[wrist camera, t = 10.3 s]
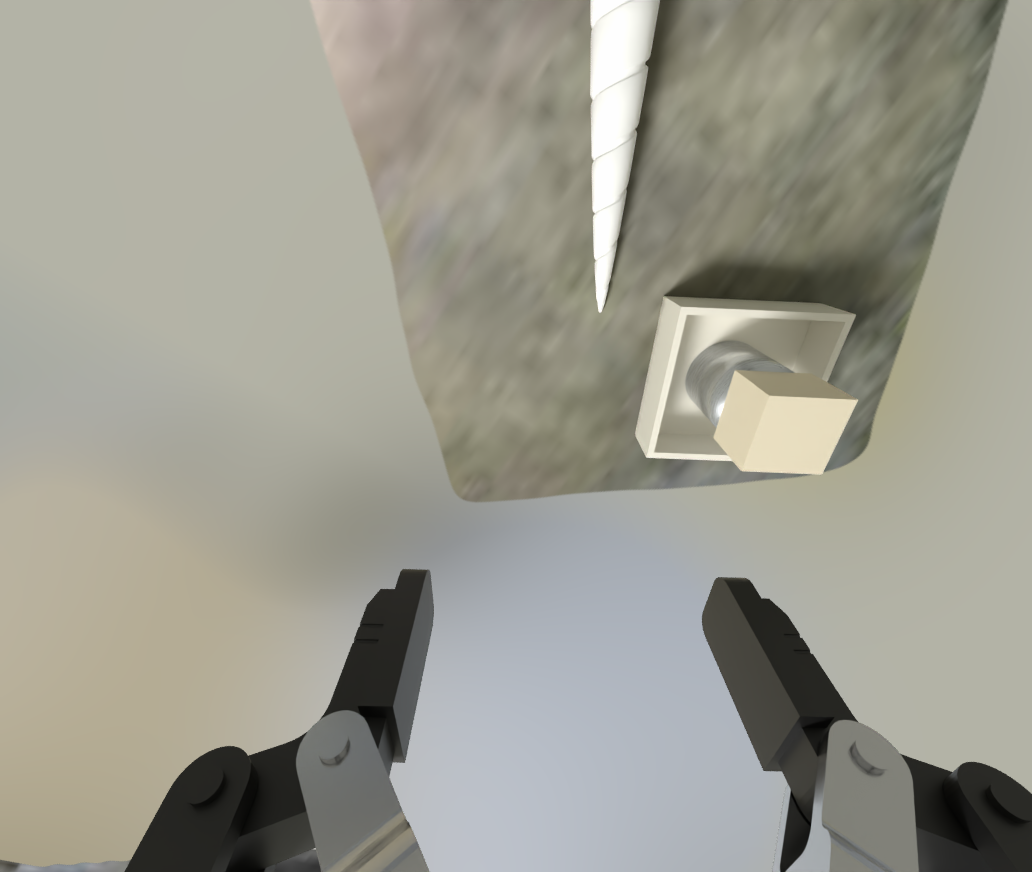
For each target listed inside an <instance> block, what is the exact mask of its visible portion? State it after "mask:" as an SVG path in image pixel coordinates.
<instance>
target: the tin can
mask: <svg viewBox="0 0 1032 872" xmlns="http://www.w3.org/2000/svg"><path fill="white" fill-rule="evenodd" d="M735 370H746V371H767V372H788V373H795V372H793V371H792V370H790V369H788V368H787V367H785V366H783V365H782V364H780V363H778V362H777V361H775V360H773V359H772V358H770V357H768V356H767V355H765V354H763V353H762V352H760V351H758V350H757V349H755V348H753V347H752V346H750V345H748V344H746V343H744V342H741V341H735V340H728V341H722V342H719V343H716V344H713V345H711V346H710V347H708V348H706V349H705V350H703V351H702V352H701V353H700V354H699V355H698V356H697V357H696V358H695V359H694V360H693V362H692V363H691V365H690V367H689V369H688V371H687V374H686V379H685V386H686V391H687V394H688V396H689V398H690V399H691V400H692V401H693V402H694V404H695V405H696V406H697V407H698V408H699V409H700V410H701V411H702V413H703V414H704V415H705V416H706V417H707V418H708V419H709V420H710V421H711V423H712V424H713V425H714V426H715V427H716V428H717V425H718V422H719V418H720V415H721V412H722V409H723V406H724V403H725V400H726V396H727V393H728V390H729V387H730V384H731V381H732V377H733V374H734V371H735Z"/></svg>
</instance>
